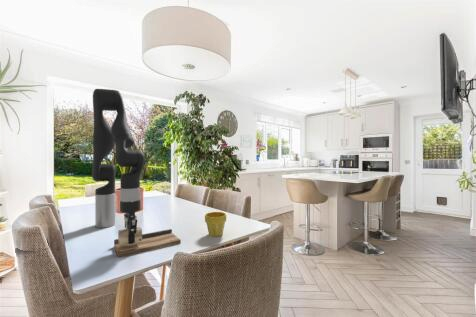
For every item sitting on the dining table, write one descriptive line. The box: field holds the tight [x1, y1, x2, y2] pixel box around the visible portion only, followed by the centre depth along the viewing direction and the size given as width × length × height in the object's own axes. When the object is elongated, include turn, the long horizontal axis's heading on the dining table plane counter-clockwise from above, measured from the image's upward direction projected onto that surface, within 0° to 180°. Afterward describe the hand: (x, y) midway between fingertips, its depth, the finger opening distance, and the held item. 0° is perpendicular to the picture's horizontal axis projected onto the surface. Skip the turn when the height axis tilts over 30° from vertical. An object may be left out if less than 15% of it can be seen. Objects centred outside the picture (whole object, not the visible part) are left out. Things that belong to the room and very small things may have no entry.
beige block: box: [117, 226, 143, 246], centre depth 90 cm, size 5×8×5 cm, turn 126°
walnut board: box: [113, 228, 182, 258], centre depth 95 cm, size 12×24×3 cm, turn 126°
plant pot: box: [204, 211, 227, 237], centre depth 109 cm, size 10×10×10 cm
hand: (130, 241), depth 90 cm, fingers closed on beige block, 4 cm apart
